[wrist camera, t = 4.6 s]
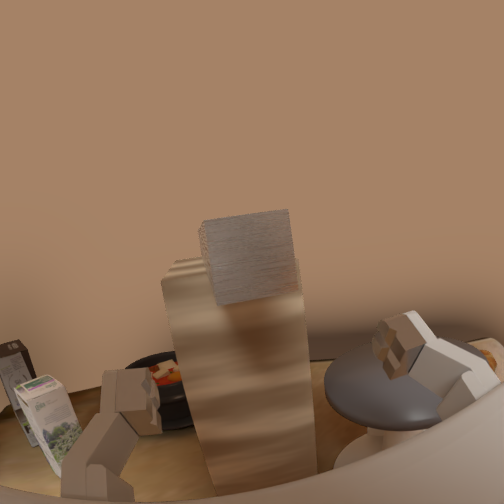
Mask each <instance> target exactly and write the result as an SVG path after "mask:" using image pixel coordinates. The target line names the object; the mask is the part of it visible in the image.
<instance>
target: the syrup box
mask: <svg viewBox="0 0 504 504" xmlns="http://www.w3.org/2000/svg"><path fill="white" fill-rule="evenodd" d="M14 391H15V393H16V396H17V399H18V401H19V403H20V406H21V408H22V410H23V413H24V415H25V417H26V419H27V421H28V424H29V426H30V428H31V430H32V432H33V434H34V436H35V438H36V440H37V442H38V444H39V446H40V448H41V450H42V452H43V453H44V455H45V457H46V459H47V461H48V463H49V464H50V466H51V468H52V470H53V471H54V472H55V473H56V474H57V475H58V476H59V477H60V478H61V465H62V460H63V459H64V457H65V456H66V455H67V453H68V452H69V450H70V449H71V447H72V446H73V445H74V443H75V442H76V440H77V439H78V438H79V436H80V435H81V433H82V432H83V431H82V429H81V426H80V424H79V421H78V419H77V417H76V414H75V412H74V409H73V406H72V404H71V401H70V399H69V396H68V393H67V390H66V388H65V386H64V385H63V384H61V383H60V382H59V381H58V380H56V379H55V378H53V377H52V376H50V375H48V374H45V375H43V376H41V377H38V378H35V379H33V380H30V381H28V382H25V383H23V384H20V385H18V386H15V387H14Z"/></svg>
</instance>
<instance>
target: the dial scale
mask: <svg viewBox="0 0 504 504" xmlns="http://www.w3.org/2000/svg"><path fill="white" fill-rule="evenodd" d="M436 338H437V339H439V338H441V339H443V340H445V341H447V342H449V343H451V344H453V345H455V346H457V347H459V348H461V349H463V350H465V351H468V352H470V353H472V354H474V355H476V356H478V357H480V358H482V359H484V360H485V361H486V362H487V363H488V365H489V362H488V360H487V358H486V357H485V356H484V354H483V353H482V352H480V351H479V350H478V349H477V348H475V347H474V346H472V345H470V344H467V343H465V342H462V341H459V340H455V339H451V338H446V337H439V336H436ZM382 367H383V361H381V360H379V359H377V357H376V356H375V354H374V351H373V348H372V342H370V343H367V344H365V345H361V346H359V347H356V348H354V349H352V350H350V351H348V352H346V353H344V354H343V355H341V356H340V357H338V358H337V359H336V360H335V361H333V362H332V363H331V365H330V366H329V367H328V369H327V371H326V373H325V377H324V385H325V395H326V398H327V400H328V402H329V404H330V405H331V406H332V408H333V409H334V410H335V411H336V412H338V413H339V414H340V415H341V416H343V417H345V418H347V419H348V420H350V421H352V422H355V423H357V424H360V425H362V426H366V427H367V434H364V435H363V436H361V437H359V438H357V439H355V440H354V441H352V442H351V443H350V444H348V445H347V446H346V447H345V448H344V449H343V450H342V451H341V453H340V454H339V455H338V457H337V459H336V461H335V464H334V468H333V469H336V468H339V467H342V466H345V465H347V464H350V463H353V462H356V461H358V460H361V459H363V458H366V457H368V456H371V455H373V454H376V453H378V452H380V451H383V450H385V449H387V448H390V447H392V446H394V445H396V444H399V443H401V442H403V441H405V440H407V439H409V438H411V437H413V436H415V435H417V434H419V433H421V432H423V431H425V430H427V429H429V428H431V427H432V426H434V425H436V424H438V423H440V422H442V420H441V418H440V416H439V415H438V413H437V411H436V408H437V406H438V405H439V403H440V402H441V401H442V400H443V399H442V398H441V397H439V396H438V395H436V394H435V393H434V392H432V391H431V390H429V389H428V388H426V387H425V386H423V385H422V384H420V383H419V382H417V381H416V380H414V379H413V378H411V377H410V376H409V375H408V374H407V375H404V376H401V377H398V378H396V379H393V380H390V379H389V378H388V376H387V374H386V373H385V371H384V369H383V368H382Z"/></svg>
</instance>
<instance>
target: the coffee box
mask: <svg viewBox="0 0 504 504" xmlns="http://www.w3.org/2000/svg"><path fill="white" fill-rule="evenodd" d="M0 378H1V381H2V383H3V386H4V389H5V391H6V394H7V396H8V398H9V401H10V403H11V406H12V408H13V410H14V412H15V414H16V417H17V419H18V421H19V423H20V425H21V427H22V429H23V431H24V433H25V434H26V436H27V438H28V440H29V442H30V444H31V446H32V447H35V446H37V445H39V444H38V442H37V440H36V438H35V436H34V434H33V432H32V430H31V428H30V426H29V424H28V421H27V419H26V417H25V415H24V413H23V410H22V408H21V406H20V403H19V401H18V399H17V396H16V393H15V391H14V387H15V386H18V385H20V384H23V383H25V382H28V381H30V380H33V379H35V378H37V377H36V374H35V371H34V368H33V365H32V362H31V359H30V356H29V353H28V349H27V348H26V347H25V346H24V345H23V344H22V343H21V341H20V340H15V341H11V342H7V343H4V344H1V345H0Z"/></svg>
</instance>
